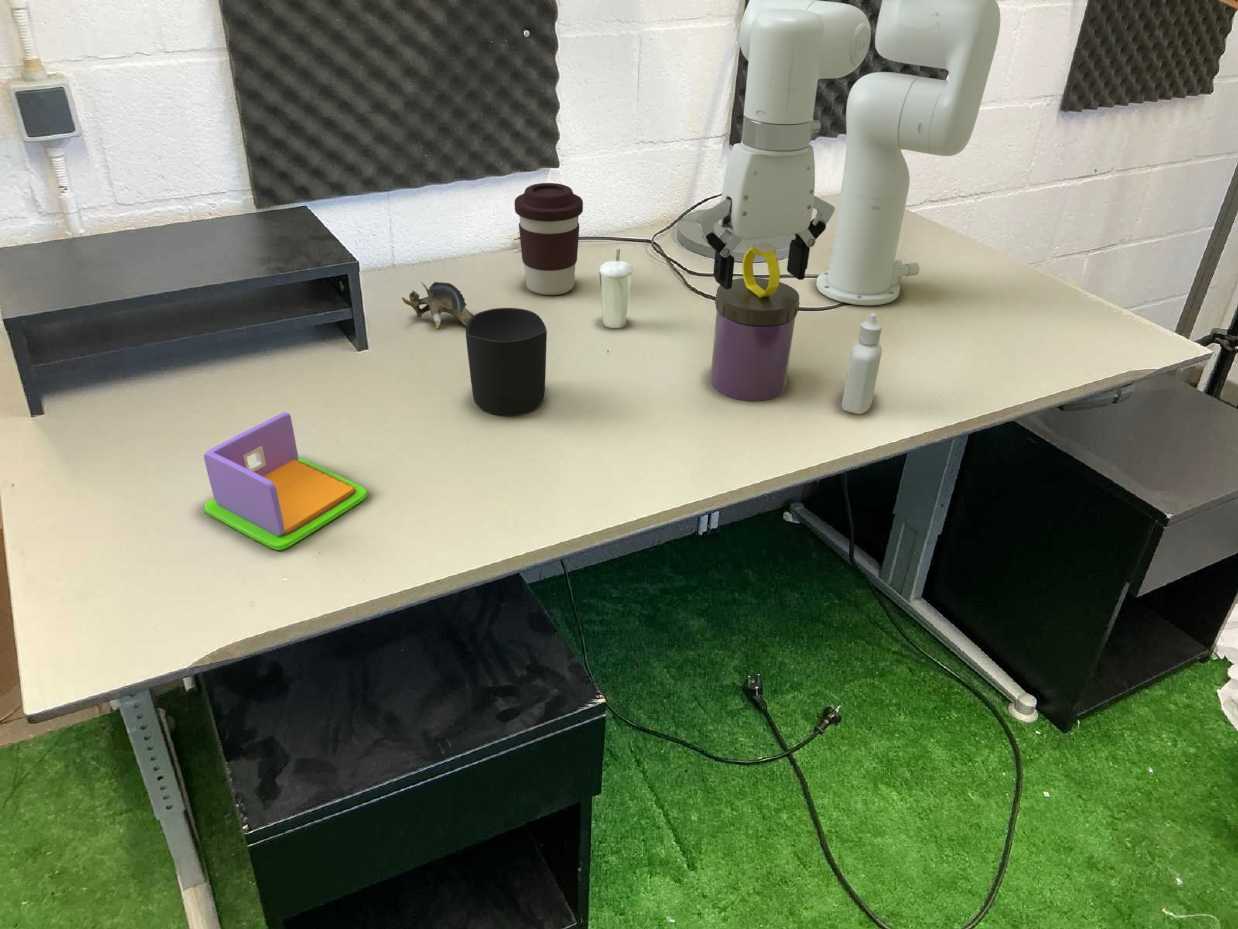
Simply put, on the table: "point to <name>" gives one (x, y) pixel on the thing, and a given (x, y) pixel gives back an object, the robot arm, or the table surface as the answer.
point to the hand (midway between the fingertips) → (759, 280)
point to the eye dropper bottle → (863, 368)
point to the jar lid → (757, 303)
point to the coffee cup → (549, 236)
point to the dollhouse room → (274, 486)
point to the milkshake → (615, 291)
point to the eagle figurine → (440, 302)
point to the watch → (773, 267)
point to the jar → (750, 359)
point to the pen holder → (507, 360)
